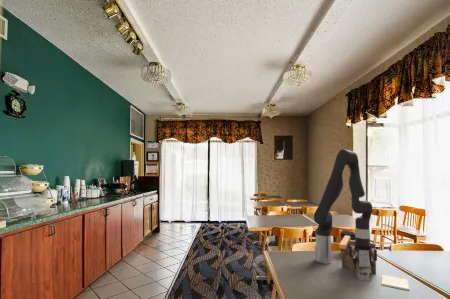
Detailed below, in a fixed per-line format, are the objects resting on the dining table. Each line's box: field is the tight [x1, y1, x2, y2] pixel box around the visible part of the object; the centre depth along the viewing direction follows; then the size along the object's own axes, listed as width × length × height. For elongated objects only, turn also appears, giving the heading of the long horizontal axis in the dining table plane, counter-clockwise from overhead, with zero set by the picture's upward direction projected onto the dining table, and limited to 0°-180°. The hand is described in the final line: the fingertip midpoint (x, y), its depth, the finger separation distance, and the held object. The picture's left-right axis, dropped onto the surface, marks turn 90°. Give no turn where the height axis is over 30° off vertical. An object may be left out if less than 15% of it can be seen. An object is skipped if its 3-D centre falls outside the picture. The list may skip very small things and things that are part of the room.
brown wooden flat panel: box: [341, 240, 377, 276], centre depth 162 cm, size 18×3×17 cm, turn 60°
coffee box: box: [354, 248, 373, 282], centre depth 152 cm, size 9×6×16 cm
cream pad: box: [381, 274, 410, 291], centre depth 145 cm, size 12×14×1 cm
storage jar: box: [340, 230, 355, 255], centre depth 193 cm, size 10×10×15 cm
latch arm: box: [338, 235, 350, 250], centre depth 157 cm, size 3×24×2 cm, turn 150°
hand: (363, 266), depth 152 cm, fingers closed on coffee box, 7 cm apart
